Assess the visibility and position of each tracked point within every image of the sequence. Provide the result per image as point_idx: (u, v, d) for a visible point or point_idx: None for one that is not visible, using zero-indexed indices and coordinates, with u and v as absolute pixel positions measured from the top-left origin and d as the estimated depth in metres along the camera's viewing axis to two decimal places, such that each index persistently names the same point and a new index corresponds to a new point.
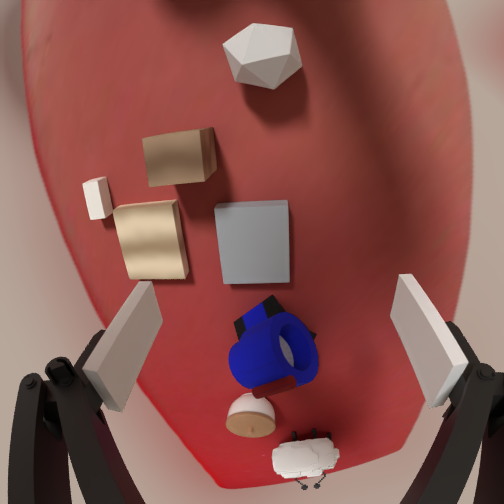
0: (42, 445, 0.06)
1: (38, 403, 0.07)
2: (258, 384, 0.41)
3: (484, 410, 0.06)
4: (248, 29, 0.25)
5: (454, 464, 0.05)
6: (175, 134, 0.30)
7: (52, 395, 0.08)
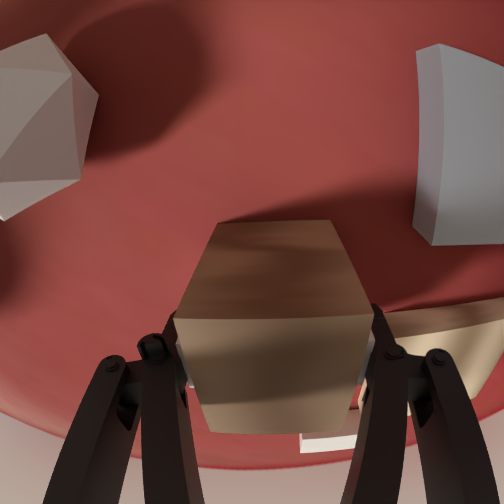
0: (108, 435, 0.07)
1: (116, 390, 0.09)
2: None
3: (401, 390, 0.08)
4: None
5: (383, 450, 0.06)
6: (195, 377, 0.10)
7: (138, 376, 0.10)
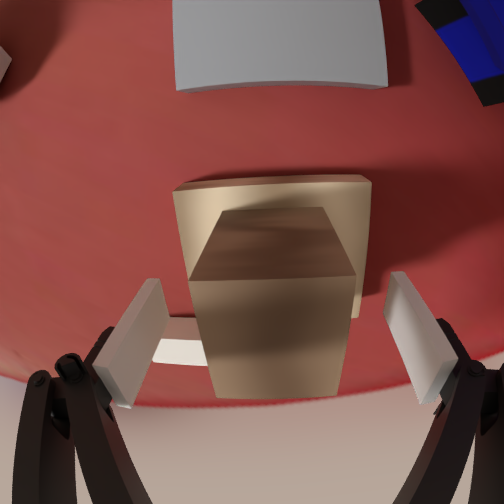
0: (49, 443, 0.06)
1: (46, 401, 0.08)
2: None
3: (475, 407, 0.06)
4: None
5: (447, 461, 0.05)
6: (204, 339, 0.12)
7: (61, 392, 0.09)
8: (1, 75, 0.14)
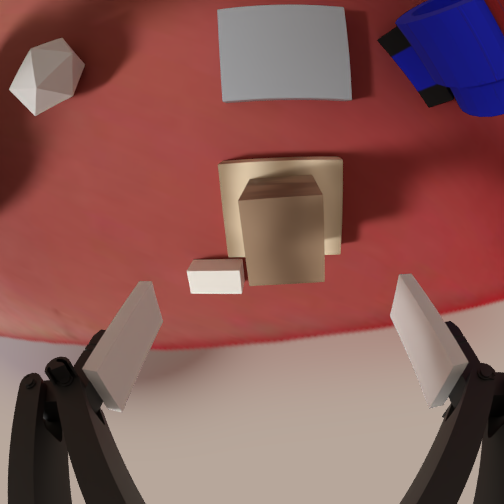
0: (42, 445, 0.06)
1: (38, 403, 0.07)
2: None
3: (484, 410, 0.06)
4: (14, 93, 0.20)
5: (454, 463, 0.05)
6: (244, 237, 0.22)
7: (52, 395, 0.08)
8: (79, 76, 0.24)
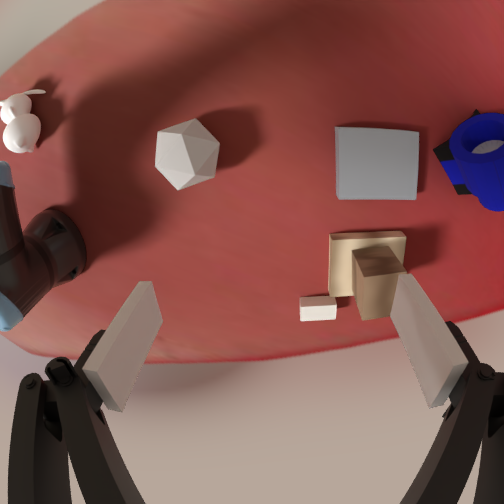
0: (42, 445, 0.06)
1: (38, 403, 0.07)
2: None
3: (484, 410, 0.06)
4: (161, 170, 0.34)
5: (454, 463, 0.05)
6: (364, 295, 0.36)
7: (52, 395, 0.08)
8: None
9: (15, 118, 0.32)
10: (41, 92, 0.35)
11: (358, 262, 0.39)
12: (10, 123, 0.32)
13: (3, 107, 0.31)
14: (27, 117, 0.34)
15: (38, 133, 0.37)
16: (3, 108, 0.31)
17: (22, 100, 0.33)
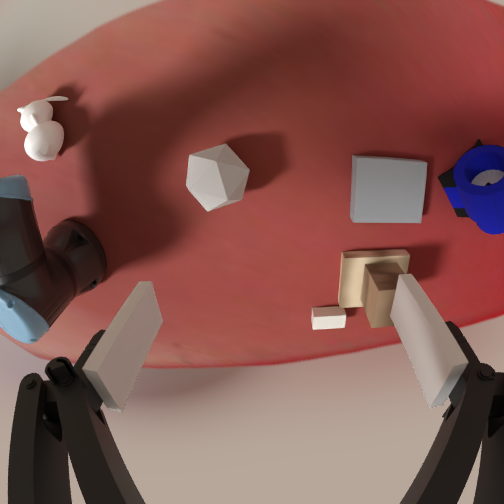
0: (42, 445, 0.06)
1: (38, 403, 0.07)
2: None
3: (484, 410, 0.06)
4: (194, 194, 0.38)
5: (454, 464, 0.05)
6: (376, 306, 0.40)
7: (52, 395, 0.08)
8: None
9: (38, 125, 0.35)
10: (63, 99, 0.38)
11: (372, 276, 0.43)
12: (33, 130, 0.34)
13: (24, 114, 0.33)
14: (51, 124, 0.36)
15: (62, 141, 0.40)
16: (24, 115, 0.33)
17: (44, 107, 0.35)
